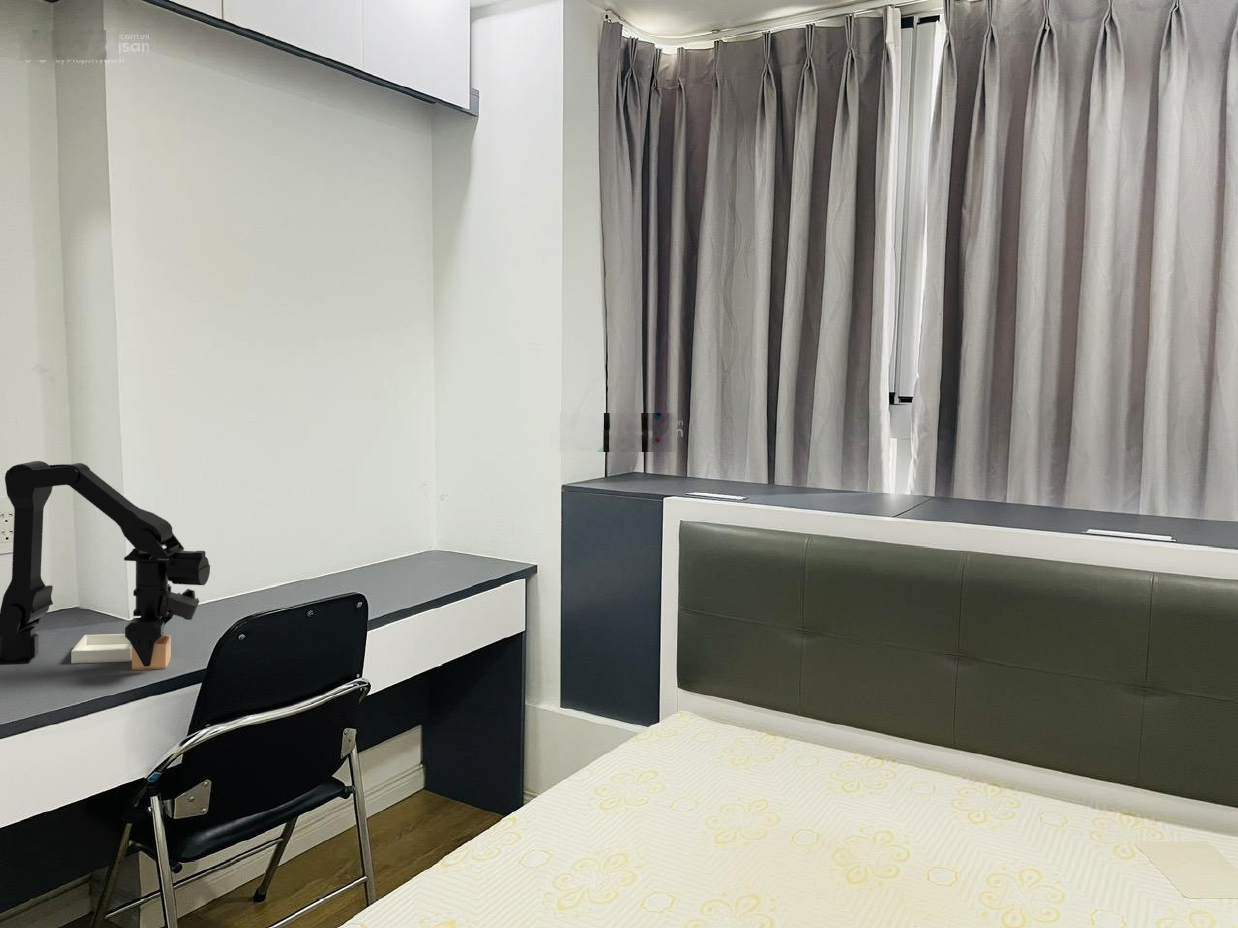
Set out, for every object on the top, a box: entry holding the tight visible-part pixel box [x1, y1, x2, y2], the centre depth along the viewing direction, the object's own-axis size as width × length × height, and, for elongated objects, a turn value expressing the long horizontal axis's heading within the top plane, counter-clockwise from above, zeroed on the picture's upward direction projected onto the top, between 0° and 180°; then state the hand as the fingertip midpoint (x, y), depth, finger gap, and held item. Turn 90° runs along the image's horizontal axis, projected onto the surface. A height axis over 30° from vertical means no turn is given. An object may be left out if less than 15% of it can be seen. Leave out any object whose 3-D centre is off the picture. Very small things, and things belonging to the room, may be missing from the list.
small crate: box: [131, 634, 172, 671], centre depth 180 cm, size 6×6×5 cm
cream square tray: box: [70, 633, 132, 664], centre depth 184 cm, size 10×10×2 cm
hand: (151, 658), depth 180 cm, fingers open, 9 cm apart
